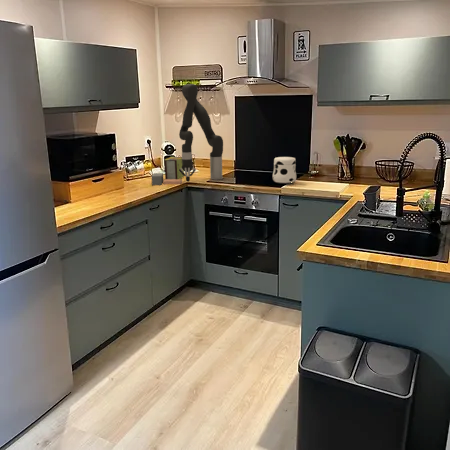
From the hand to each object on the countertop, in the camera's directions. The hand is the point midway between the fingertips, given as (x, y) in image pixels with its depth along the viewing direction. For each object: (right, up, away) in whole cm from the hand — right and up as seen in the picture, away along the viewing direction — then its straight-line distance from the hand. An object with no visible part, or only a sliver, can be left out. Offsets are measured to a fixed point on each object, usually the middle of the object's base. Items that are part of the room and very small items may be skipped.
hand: (187, 181), depth 337 cm
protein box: (-12, +4, +20) cm, 23 cm away
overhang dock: (-22, -1, 0) cm, 23 cm away
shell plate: (-11, -2, +1) cm, 12 cm away
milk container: (+71, -2, -5) cm, 71 cm away
